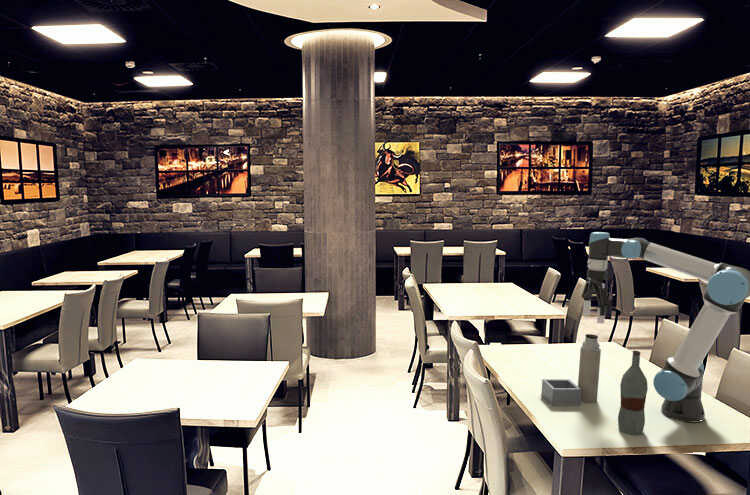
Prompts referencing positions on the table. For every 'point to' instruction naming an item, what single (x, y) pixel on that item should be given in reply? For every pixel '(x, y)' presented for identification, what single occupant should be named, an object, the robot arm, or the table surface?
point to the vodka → (633, 398)
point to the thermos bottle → (589, 368)
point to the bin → (561, 392)
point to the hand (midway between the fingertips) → (593, 319)
